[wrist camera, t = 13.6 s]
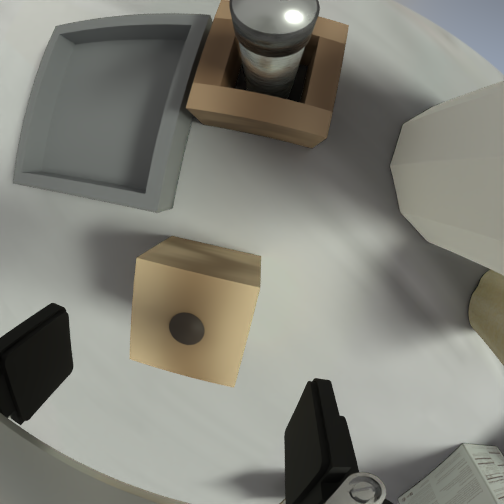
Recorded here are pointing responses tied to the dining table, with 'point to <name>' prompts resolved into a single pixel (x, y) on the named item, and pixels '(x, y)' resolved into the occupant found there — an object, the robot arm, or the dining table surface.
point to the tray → (113, 109)
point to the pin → (272, 41)
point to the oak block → (193, 308)
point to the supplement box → (463, 479)
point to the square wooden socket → (260, 105)
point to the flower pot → (489, 312)
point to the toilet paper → (456, 175)
